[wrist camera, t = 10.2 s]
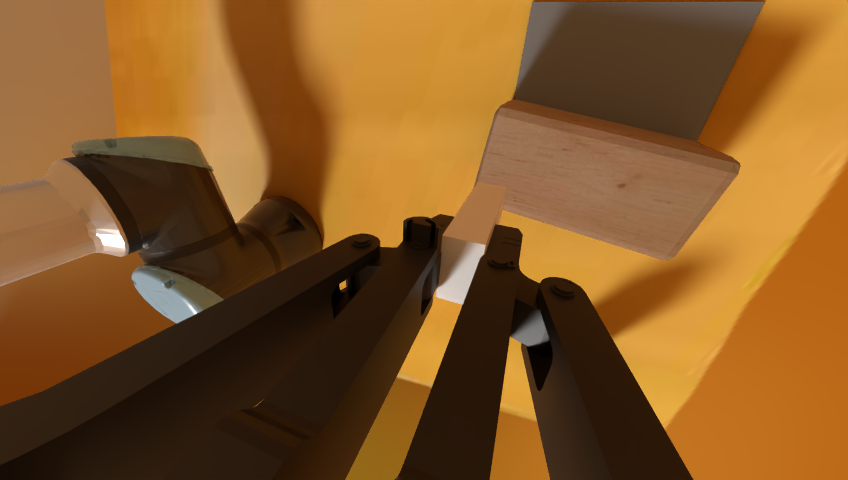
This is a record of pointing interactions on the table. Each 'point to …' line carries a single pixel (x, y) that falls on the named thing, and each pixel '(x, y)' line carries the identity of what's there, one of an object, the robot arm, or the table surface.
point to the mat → (634, 60)
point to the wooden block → (603, 177)
